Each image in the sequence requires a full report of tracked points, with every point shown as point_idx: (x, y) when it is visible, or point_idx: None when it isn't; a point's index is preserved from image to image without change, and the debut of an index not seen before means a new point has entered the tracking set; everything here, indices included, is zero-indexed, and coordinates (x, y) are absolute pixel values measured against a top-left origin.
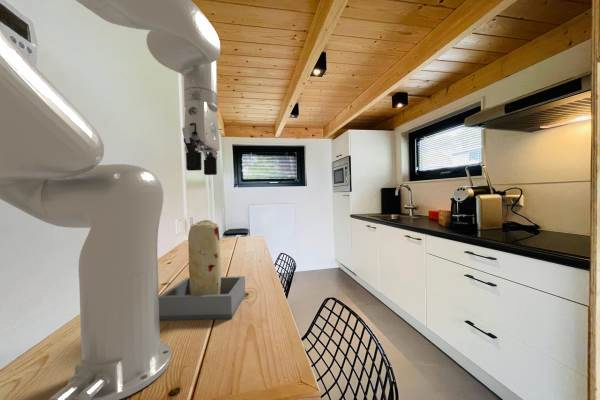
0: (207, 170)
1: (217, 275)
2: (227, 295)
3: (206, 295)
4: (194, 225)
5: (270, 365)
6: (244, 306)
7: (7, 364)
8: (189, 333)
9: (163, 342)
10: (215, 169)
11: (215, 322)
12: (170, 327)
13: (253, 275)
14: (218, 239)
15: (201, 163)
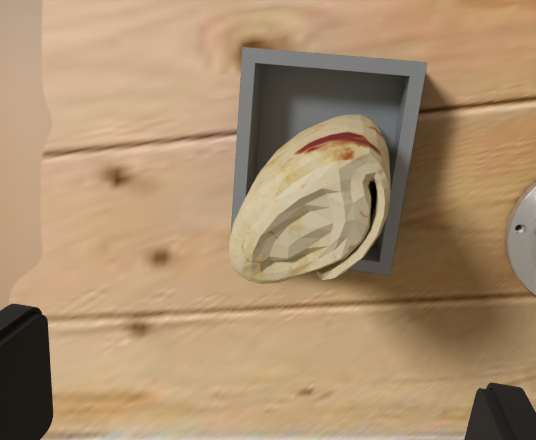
0: (25, 420)
1: (371, 121)
2: (420, 75)
3: (405, 142)
4: (323, 266)
5: None
6: (344, 38)
7: None
8: (469, 156)
9: (530, 194)
10: (5, 338)
11: (427, 105)
12: (428, 212)
13: (72, 46)
14: (354, 134)
15: (517, 430)
